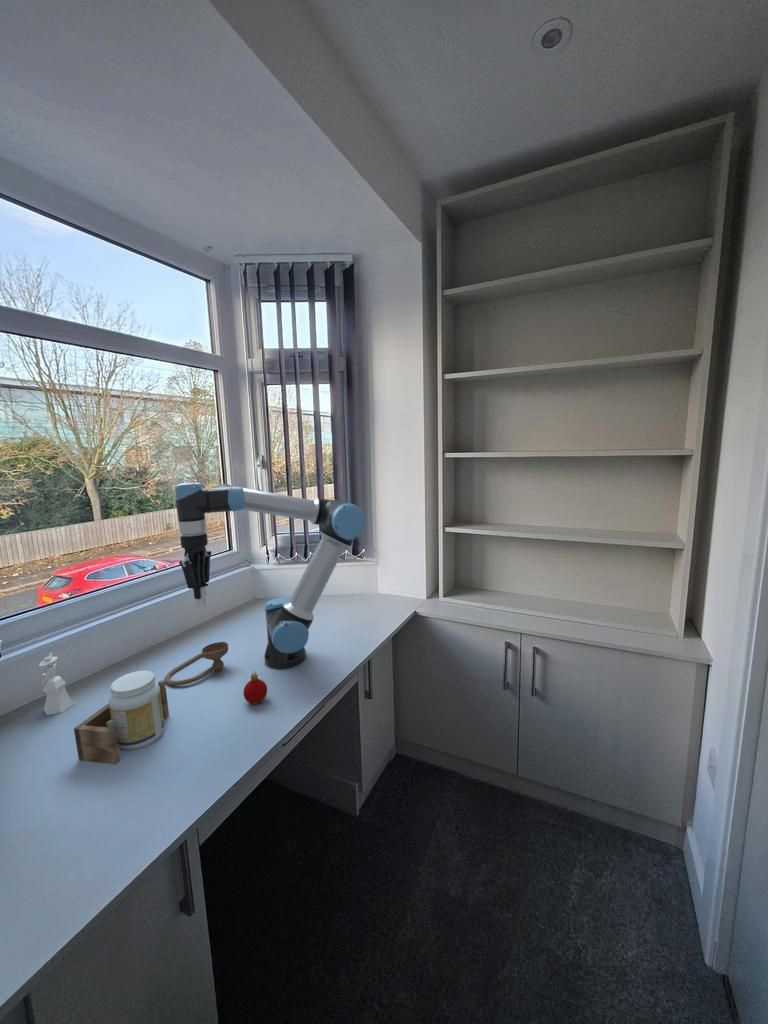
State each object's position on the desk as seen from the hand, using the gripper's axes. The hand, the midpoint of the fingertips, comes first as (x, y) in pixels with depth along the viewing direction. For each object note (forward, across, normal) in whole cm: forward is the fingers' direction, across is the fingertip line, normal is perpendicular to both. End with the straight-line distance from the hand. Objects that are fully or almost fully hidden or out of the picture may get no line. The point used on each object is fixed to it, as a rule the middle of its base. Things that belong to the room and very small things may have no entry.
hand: (201, 607), depth 133 cm
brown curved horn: (+30, -13, -12) cm, 35 cm away
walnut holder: (+29, +22, -12) cm, 39 cm away
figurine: (+30, +13, -44) cm, 55 cm away
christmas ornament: (+30, +2, +17) cm, 34 cm away
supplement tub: (+30, +22, -8) cm, 37 cm away
